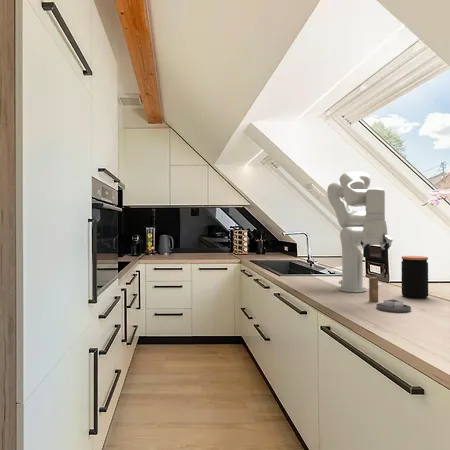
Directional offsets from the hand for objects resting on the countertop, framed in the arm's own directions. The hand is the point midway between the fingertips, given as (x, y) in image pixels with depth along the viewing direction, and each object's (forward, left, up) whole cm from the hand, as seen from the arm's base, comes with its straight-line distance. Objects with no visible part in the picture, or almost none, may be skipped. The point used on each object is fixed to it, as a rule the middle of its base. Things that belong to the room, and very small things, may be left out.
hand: (375, 258), depth 154 cm
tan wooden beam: (-1, 0, -18) cm, 18 cm away
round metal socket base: (+13, -4, -18) cm, 23 cm away
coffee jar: (-1, +24, -19) cm, 30 cm away
